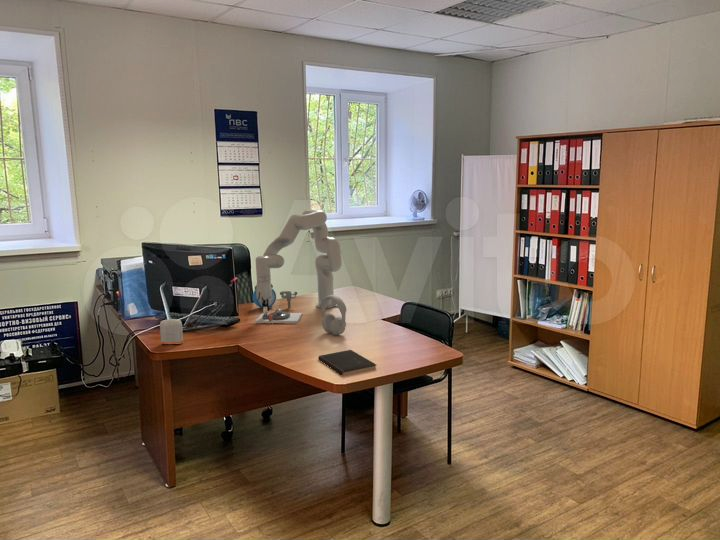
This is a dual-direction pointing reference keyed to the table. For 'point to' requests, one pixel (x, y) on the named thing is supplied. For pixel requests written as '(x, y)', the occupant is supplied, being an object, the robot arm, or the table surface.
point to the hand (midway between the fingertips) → (265, 310)
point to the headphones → (329, 320)
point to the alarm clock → (271, 300)
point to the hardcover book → (347, 362)
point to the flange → (275, 314)
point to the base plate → (292, 319)
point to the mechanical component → (288, 296)
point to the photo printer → (171, 330)
